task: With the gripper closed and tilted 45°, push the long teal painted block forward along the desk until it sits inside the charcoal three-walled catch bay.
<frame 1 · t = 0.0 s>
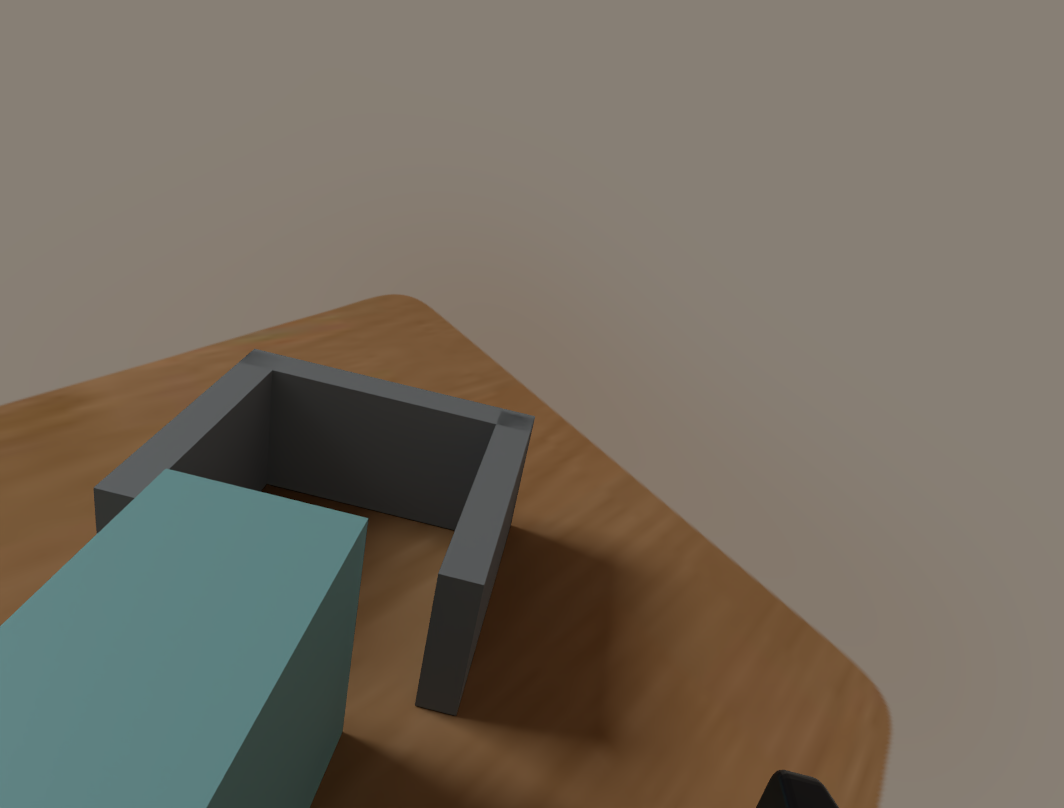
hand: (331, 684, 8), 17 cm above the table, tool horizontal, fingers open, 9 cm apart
catch bay: (331, 576, 33), on the table
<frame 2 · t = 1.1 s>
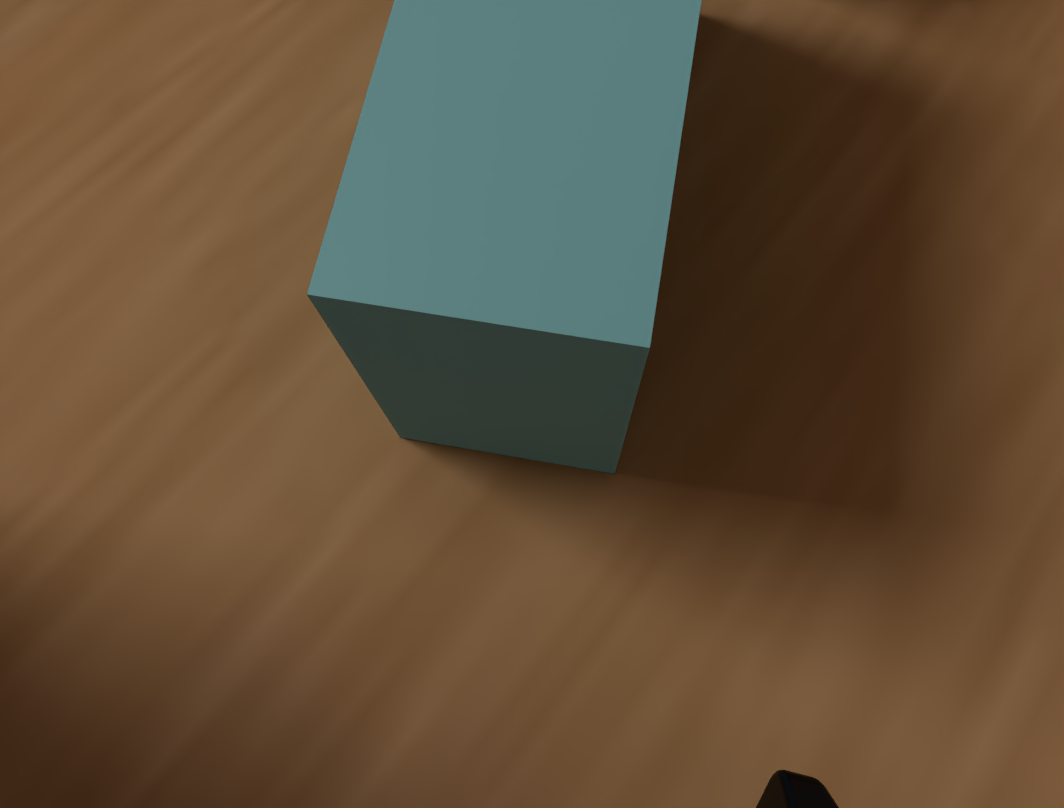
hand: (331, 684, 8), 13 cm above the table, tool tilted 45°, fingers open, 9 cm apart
teal block: (556, 207, 25), on the table
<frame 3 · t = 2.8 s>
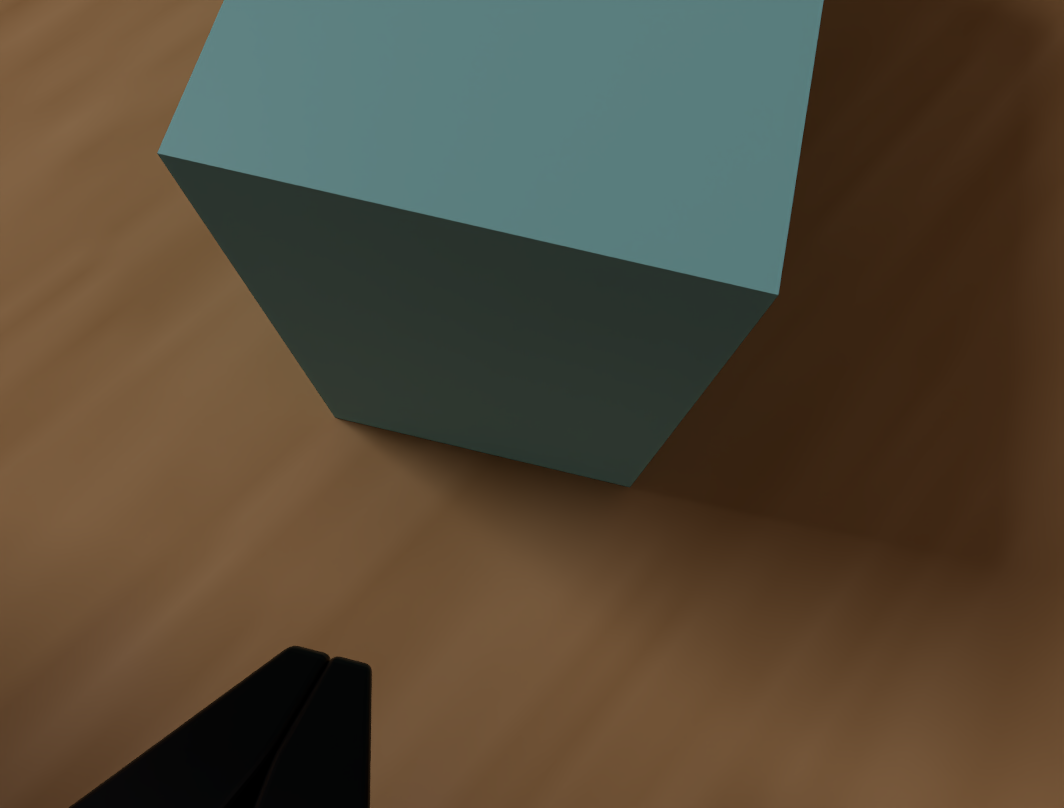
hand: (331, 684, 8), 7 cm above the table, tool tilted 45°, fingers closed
teal block: (567, 122, 19), on the table
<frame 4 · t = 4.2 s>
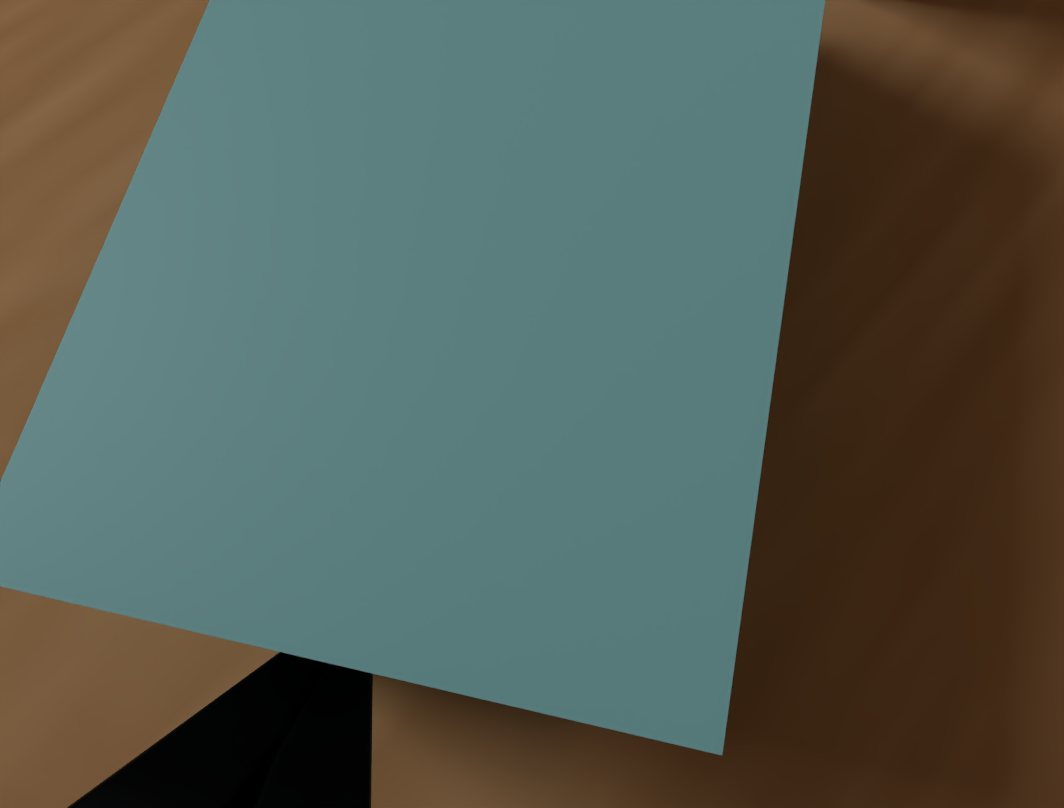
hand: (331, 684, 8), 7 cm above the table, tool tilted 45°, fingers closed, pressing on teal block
teal block: (527, 277, 17), on the table, touching gripper
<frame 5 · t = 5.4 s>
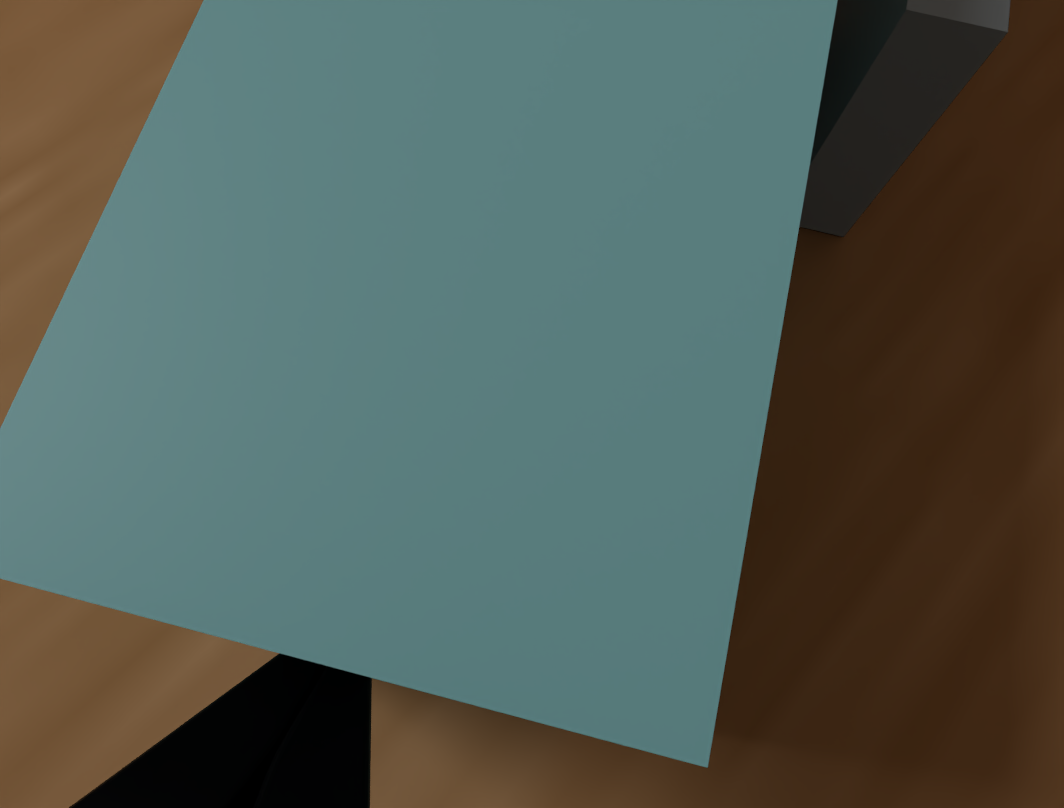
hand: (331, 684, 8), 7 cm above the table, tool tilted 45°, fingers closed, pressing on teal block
teal block: (532, 274, 17), on the table, touching gripper
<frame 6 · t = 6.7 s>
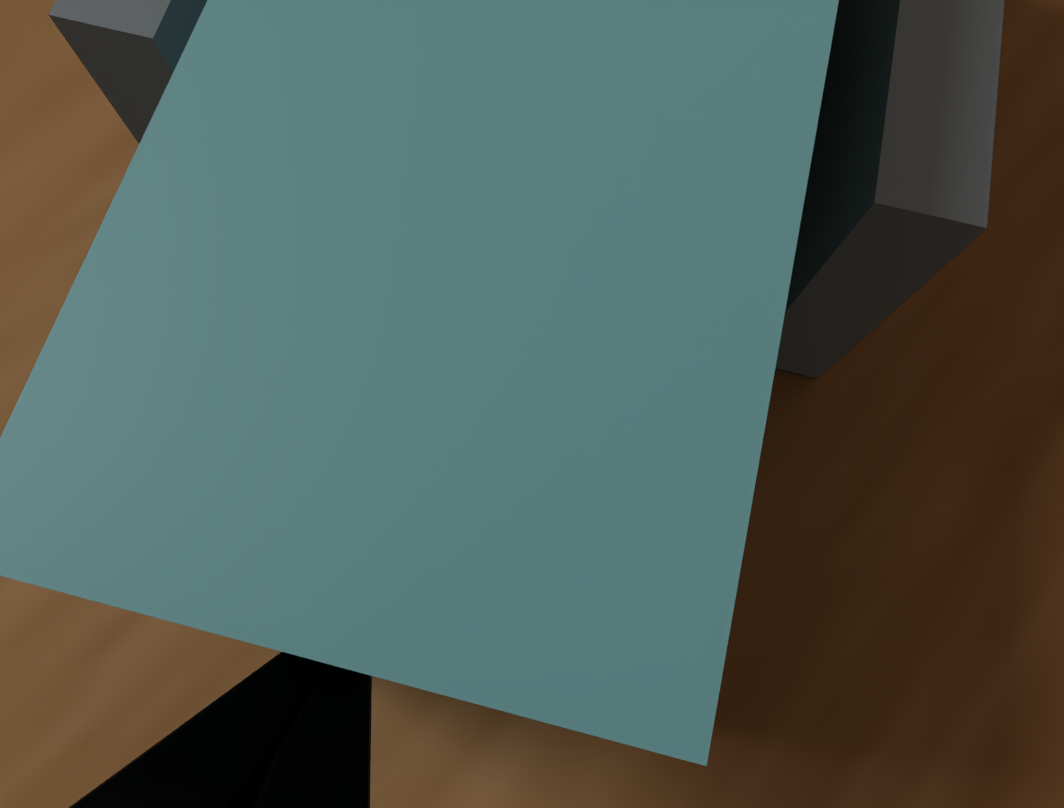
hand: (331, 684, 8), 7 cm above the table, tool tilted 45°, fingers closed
teal block: (532, 273, 17), on the table
catch bay: (562, 96, 18), on the table
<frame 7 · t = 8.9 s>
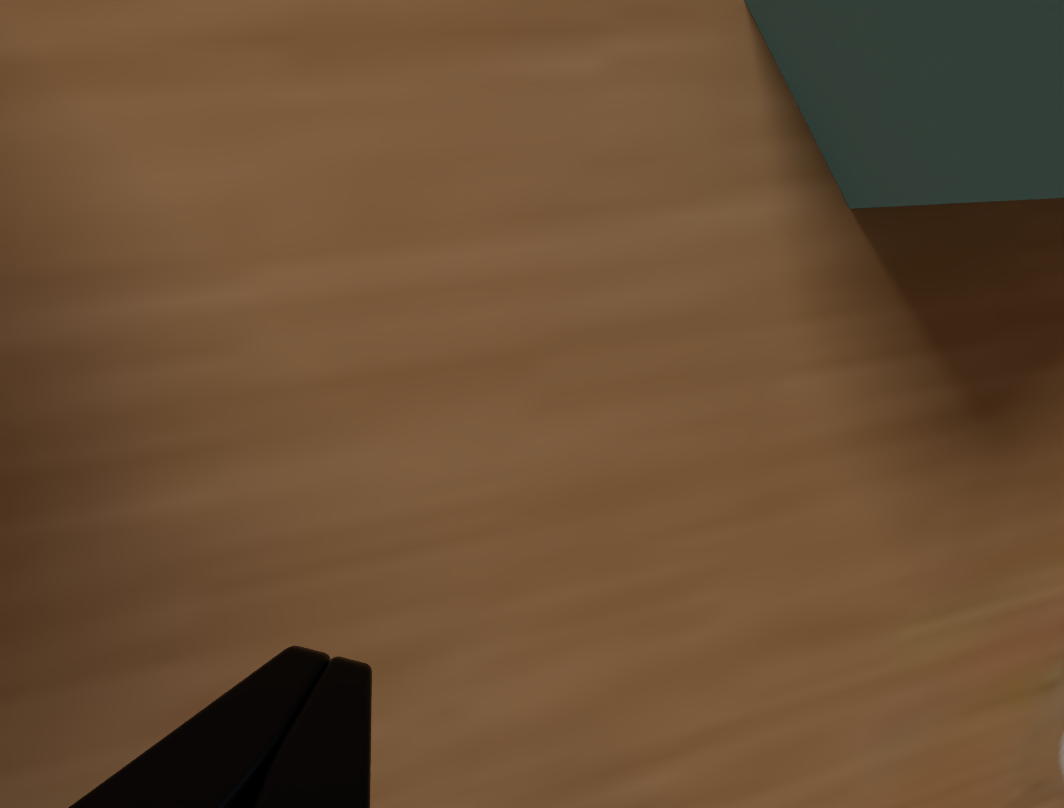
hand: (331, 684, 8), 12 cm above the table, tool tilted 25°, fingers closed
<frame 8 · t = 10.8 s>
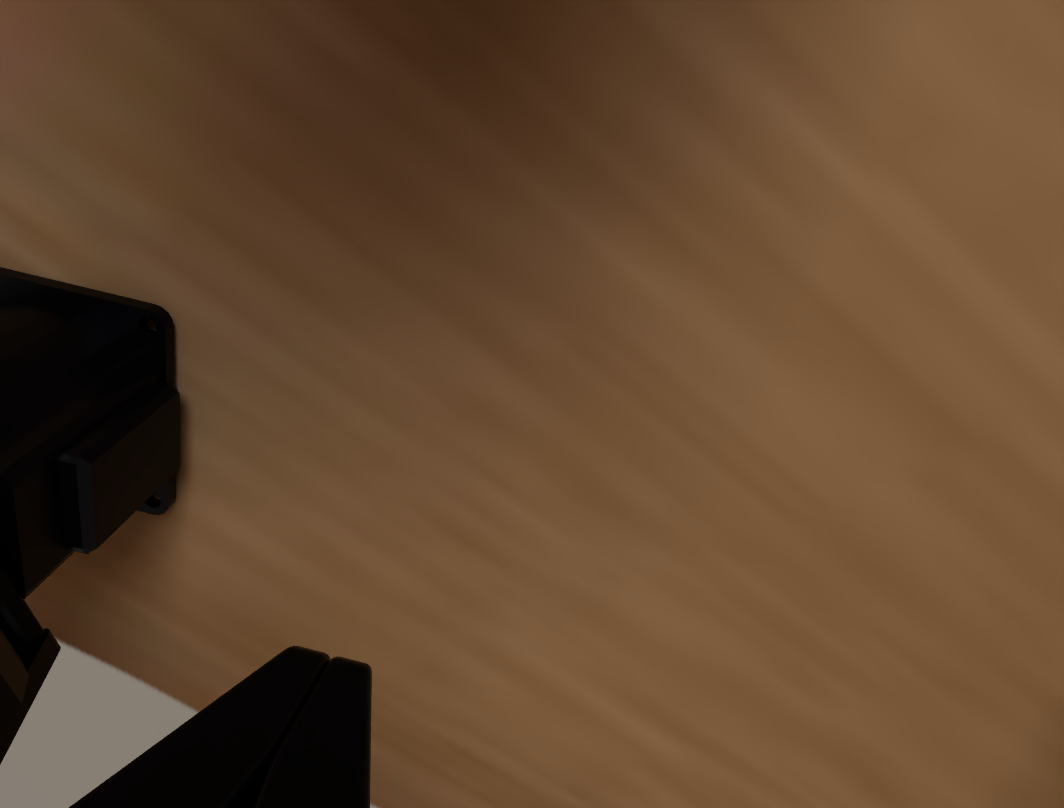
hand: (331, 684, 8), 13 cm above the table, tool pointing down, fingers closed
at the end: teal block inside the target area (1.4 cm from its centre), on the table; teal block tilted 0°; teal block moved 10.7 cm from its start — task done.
